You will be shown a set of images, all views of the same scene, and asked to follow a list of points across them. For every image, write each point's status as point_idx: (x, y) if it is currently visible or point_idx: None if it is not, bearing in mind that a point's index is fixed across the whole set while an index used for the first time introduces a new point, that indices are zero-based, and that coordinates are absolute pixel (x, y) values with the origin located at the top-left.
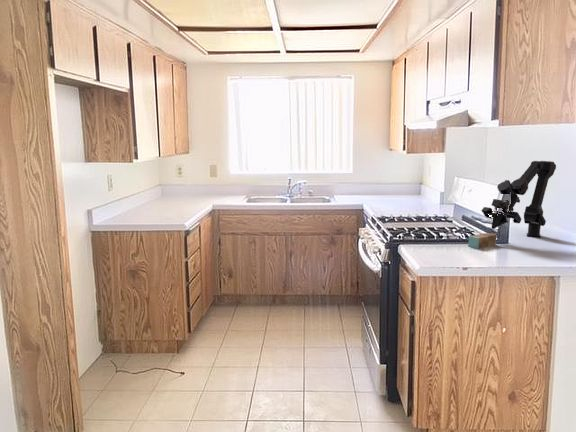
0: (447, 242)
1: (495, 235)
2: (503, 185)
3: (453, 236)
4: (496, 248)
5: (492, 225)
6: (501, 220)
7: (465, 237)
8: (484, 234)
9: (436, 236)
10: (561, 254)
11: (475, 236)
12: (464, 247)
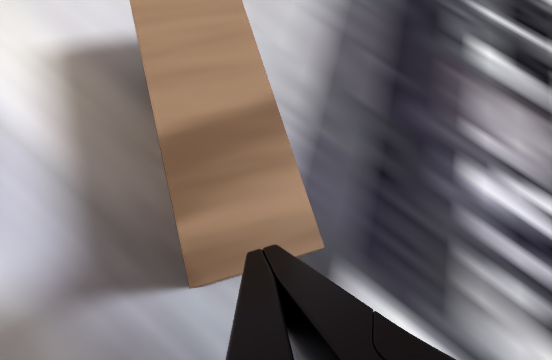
0: (377, 10)
1: (185, 264)
2: None
3: (549, 153)
4: (102, 207)
5: (284, 262)
6: None
7: (517, 220)
8: (255, 151)
9: (544, 51)
10: None
11: (201, 9)
12: None
